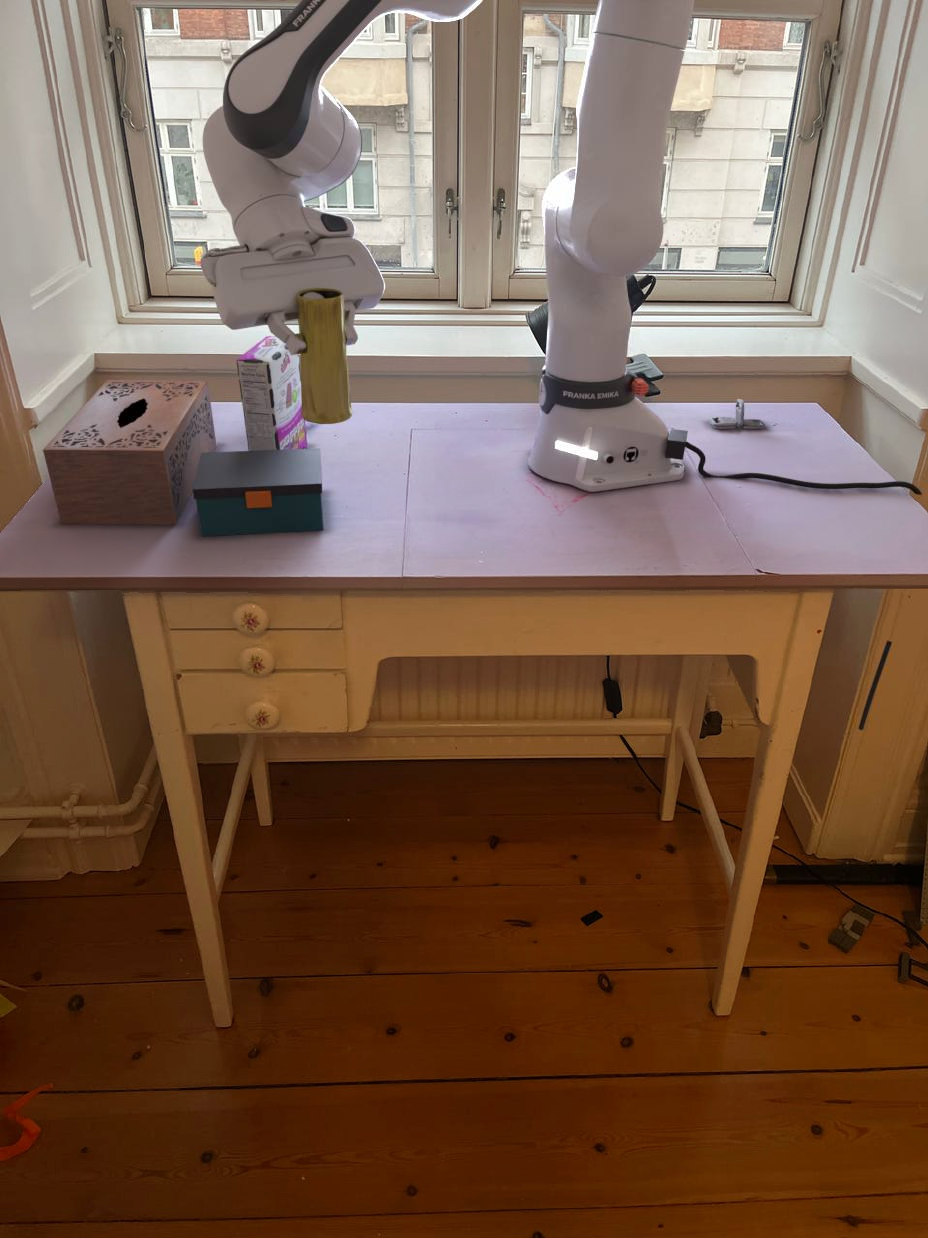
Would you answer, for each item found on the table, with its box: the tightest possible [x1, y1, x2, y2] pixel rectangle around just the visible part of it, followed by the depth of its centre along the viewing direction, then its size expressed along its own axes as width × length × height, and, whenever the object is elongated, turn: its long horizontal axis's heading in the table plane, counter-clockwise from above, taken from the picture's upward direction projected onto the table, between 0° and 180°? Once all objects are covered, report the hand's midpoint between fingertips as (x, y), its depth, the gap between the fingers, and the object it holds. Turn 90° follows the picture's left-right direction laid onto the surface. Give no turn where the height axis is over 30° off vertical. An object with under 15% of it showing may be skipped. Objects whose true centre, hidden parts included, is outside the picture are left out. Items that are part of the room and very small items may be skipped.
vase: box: [296, 288, 354, 425], centre depth 107 cm, size 6×6×14 cm
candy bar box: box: [235, 335, 308, 451], centre depth 131 cm, size 11×5×16 cm, turn 168°
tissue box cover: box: [42, 379, 218, 525], centre depth 125 cm, size 26×14×10 cm, turn 1°
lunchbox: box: [192, 447, 324, 537], centre depth 119 cm, size 15×12×6 cm
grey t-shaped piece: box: [709, 398, 766, 430], centre depth 149 cm, size 8×3×4 cm, turn 94°
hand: (325, 347), depth 106 cm, fingers closed on vase, 5 cm apart
